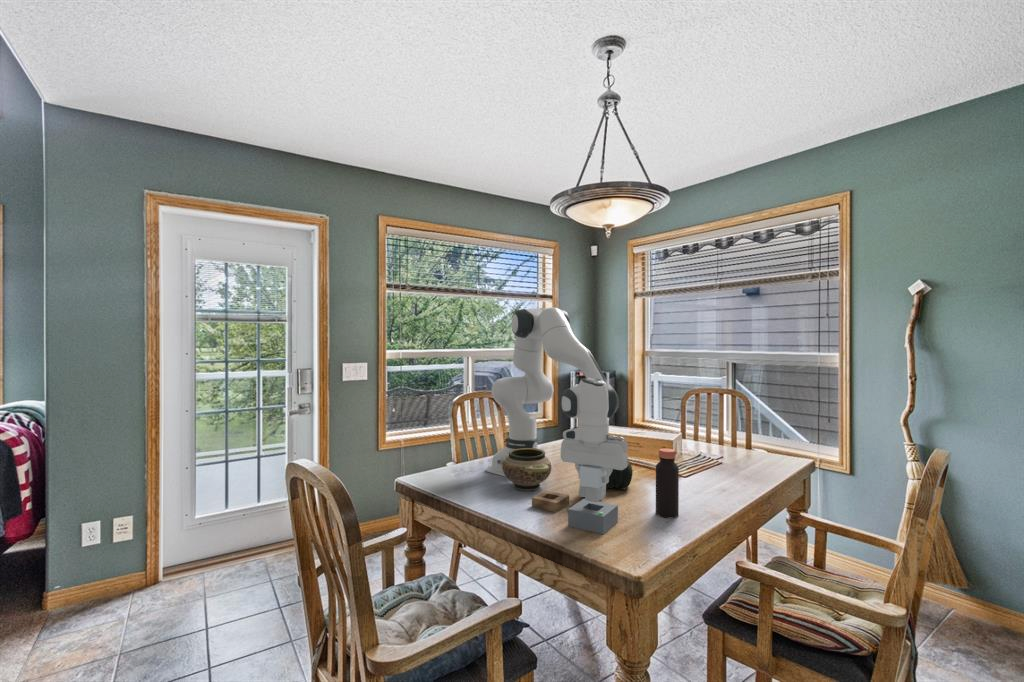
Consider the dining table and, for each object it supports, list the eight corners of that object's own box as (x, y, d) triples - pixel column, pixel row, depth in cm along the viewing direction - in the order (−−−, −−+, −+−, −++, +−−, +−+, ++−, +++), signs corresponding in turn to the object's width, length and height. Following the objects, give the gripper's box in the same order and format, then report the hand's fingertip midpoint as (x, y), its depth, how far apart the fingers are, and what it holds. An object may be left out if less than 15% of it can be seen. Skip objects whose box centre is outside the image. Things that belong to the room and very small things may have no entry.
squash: (629, 481, 169) (630, 443, 178) (586, 479, 174) (589, 441, 183) (633, 499, 179) (634, 461, 188) (592, 496, 184) (595, 460, 193)
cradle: (531, 507, 159) (531, 497, 159) (545, 499, 167) (545, 490, 167) (556, 512, 154) (556, 502, 154) (569, 504, 162) (569, 495, 162)
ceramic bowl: (498, 486, 189) (488, 450, 188) (537, 470, 196) (529, 435, 194) (524, 507, 167) (514, 466, 165) (568, 488, 174) (559, 448, 172)
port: (568, 526, 143) (568, 507, 143) (583, 514, 152) (584, 497, 152) (603, 534, 137) (603, 515, 137) (617, 521, 146) (617, 503, 146)
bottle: (660, 508, 158) (661, 446, 157) (681, 513, 153) (682, 449, 153) (652, 514, 152) (652, 450, 152) (673, 519, 148) (673, 453, 148)
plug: (580, 500, 144) (579, 466, 144) (588, 495, 149) (588, 462, 149) (599, 504, 140) (598, 469, 140) (607, 498, 145) (606, 464, 145)
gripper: (631, 435, 142) (631, 483, 142) (567, 428, 153) (567, 473, 153) (623, 439, 136) (623, 489, 136) (558, 431, 147) (558, 477, 147)
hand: (593, 480), depth 145 cm, fingers closed on plug, 6 cm apart
